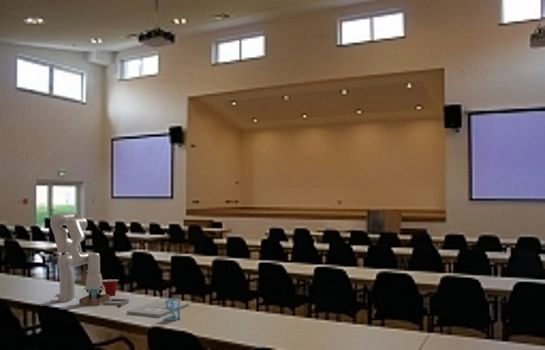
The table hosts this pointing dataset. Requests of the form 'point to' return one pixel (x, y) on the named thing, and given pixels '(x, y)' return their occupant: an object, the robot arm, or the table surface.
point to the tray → (124, 301)
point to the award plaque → (155, 309)
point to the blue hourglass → (173, 309)
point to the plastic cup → (110, 286)
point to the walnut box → (94, 300)
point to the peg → (93, 294)
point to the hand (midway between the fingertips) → (94, 299)
